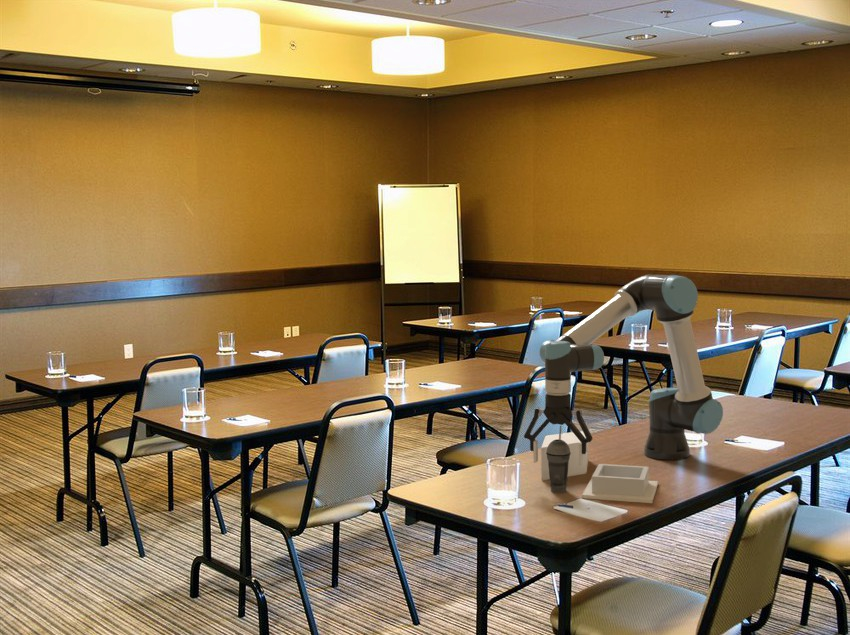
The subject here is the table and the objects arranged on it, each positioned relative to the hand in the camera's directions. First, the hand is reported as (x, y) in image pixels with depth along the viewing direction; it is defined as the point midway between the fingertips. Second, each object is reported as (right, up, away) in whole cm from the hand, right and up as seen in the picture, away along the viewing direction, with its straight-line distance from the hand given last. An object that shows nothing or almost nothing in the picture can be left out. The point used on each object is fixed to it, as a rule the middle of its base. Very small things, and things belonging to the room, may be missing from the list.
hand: (558, 463), depth 281 cm
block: (+6, -6, +24) cm, 26 cm away
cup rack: (+19, -8, -1) cm, 20 cm away
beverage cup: (0, -9, +1) cm, 9 cm away
